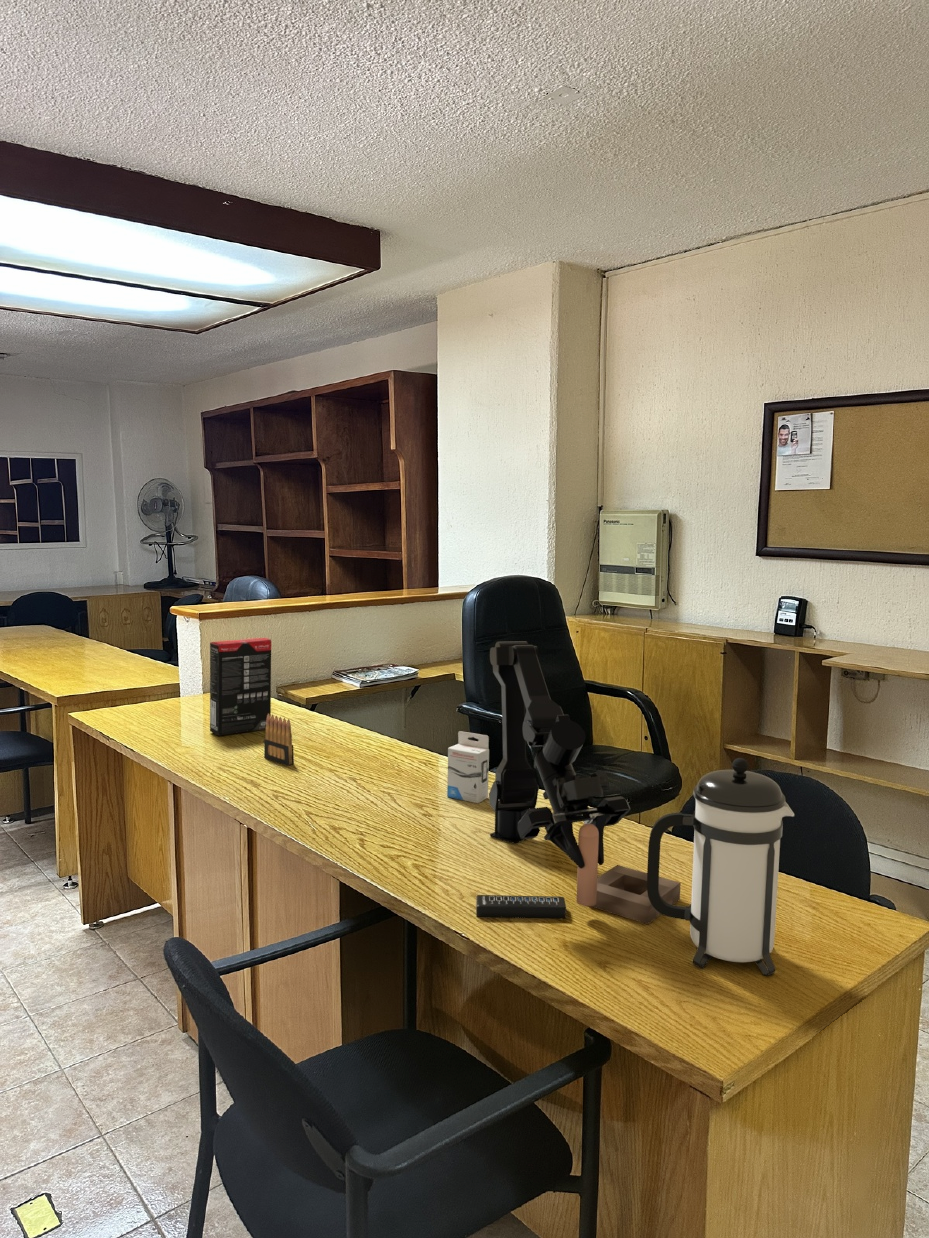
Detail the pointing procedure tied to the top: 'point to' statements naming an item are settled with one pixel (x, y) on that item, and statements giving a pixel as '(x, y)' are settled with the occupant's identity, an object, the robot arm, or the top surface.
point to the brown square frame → (632, 894)
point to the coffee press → (729, 866)
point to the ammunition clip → (278, 741)
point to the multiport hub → (520, 907)
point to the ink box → (468, 768)
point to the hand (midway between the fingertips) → (592, 865)
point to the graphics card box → (240, 685)
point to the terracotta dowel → (588, 865)
